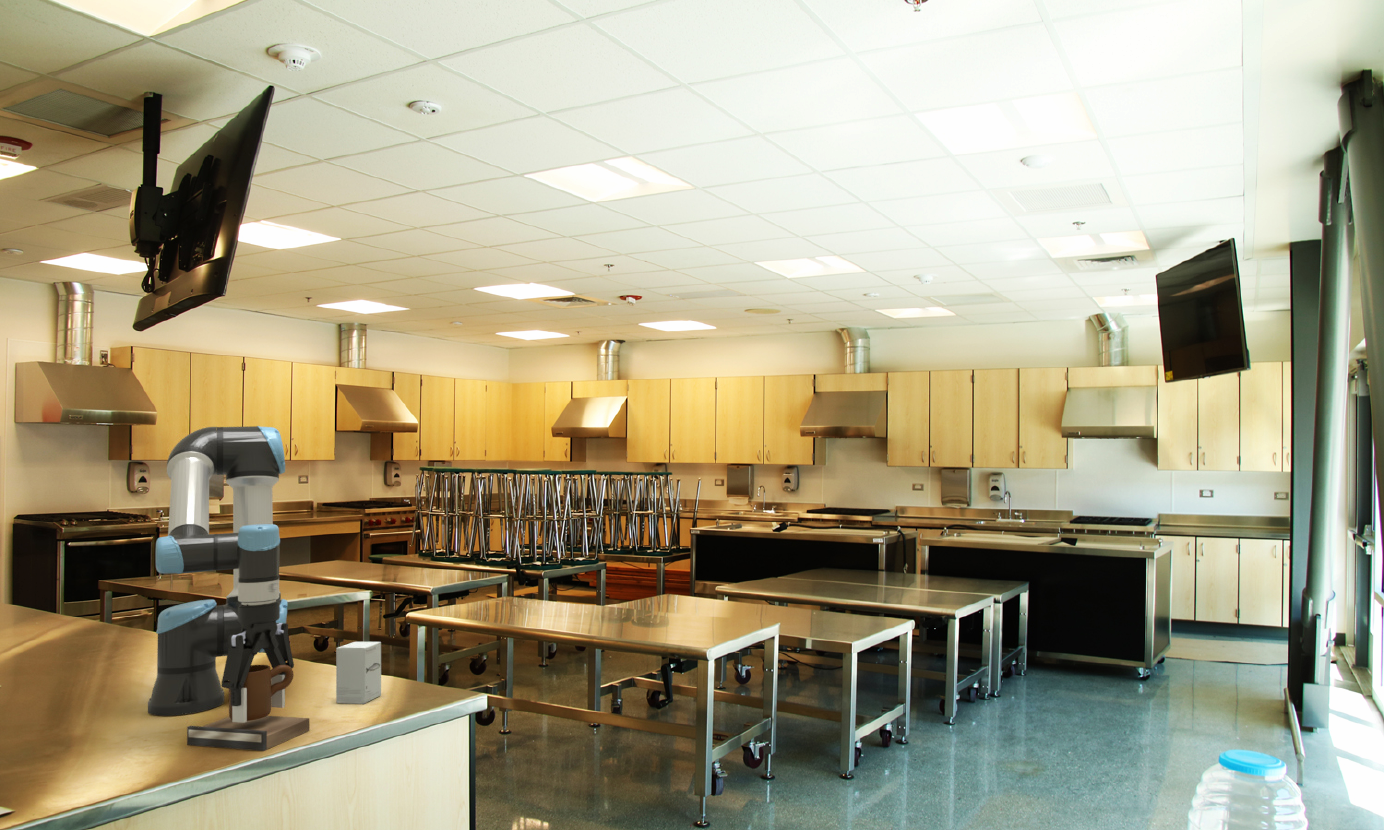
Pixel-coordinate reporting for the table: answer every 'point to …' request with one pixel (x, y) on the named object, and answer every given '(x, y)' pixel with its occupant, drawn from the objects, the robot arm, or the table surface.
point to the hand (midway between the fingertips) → (259, 714)
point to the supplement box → (358, 672)
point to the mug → (262, 689)
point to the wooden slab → (247, 732)
